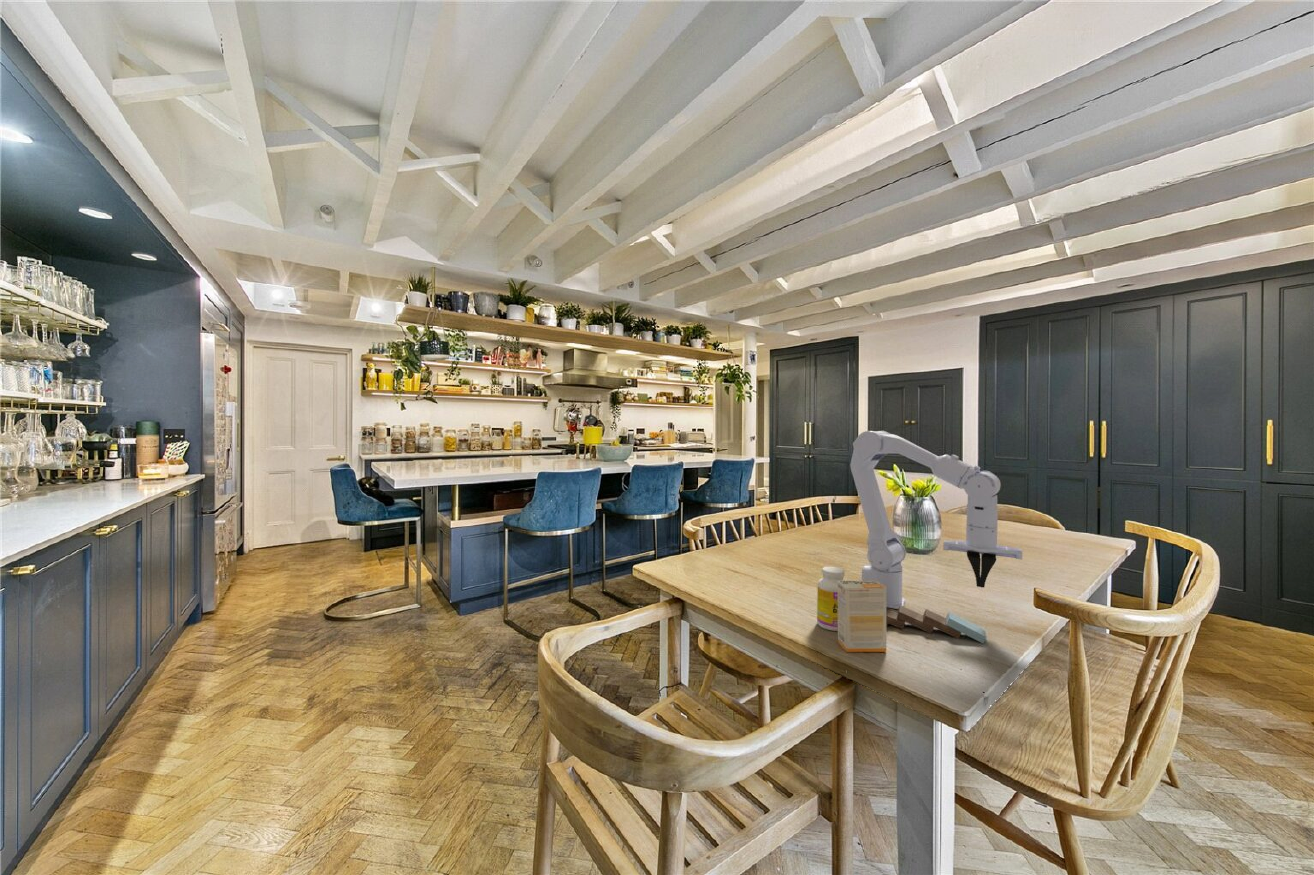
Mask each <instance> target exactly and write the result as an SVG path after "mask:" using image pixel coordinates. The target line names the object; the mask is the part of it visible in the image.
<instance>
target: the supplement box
mask: <svg viewBox="0 0 1314 875" xmlns="http://www.w3.org/2000/svg"><path fill="white" fill-rule="evenodd" d="M837 582H838V631H837V643H838V644H839V645H840V647H842V649H843V650H844V651H845V652H846V653H876V652H877V653H885V652H887V625H886V608H887V607H886V587H884V586H883V585H882V584H880V583H879V582H877V581H862V580H844V581H837Z"/></svg>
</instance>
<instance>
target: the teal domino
mask: <svg viewBox="0 0 1314 875" xmlns="http://www.w3.org/2000/svg"><path fill="white" fill-rule="evenodd" d="M945 618H946V625H948V626H950V627H952V628H954V629H956V630H958V631H960V632H961V634H964V635H966V636H967V637H970V638H971V639H973V640H975V641H978V642H980V643H981V644H984V643H985V641H986V639H987V633H986V630H985V628H983V627H981V626H979V625H977V624H975V623H973V622H971V621H969V620H967V619H965V618H963V617H961V616H959V615H957V614H955V613H953V612H951V611H948V613H947V615H946V616H945Z"/></svg>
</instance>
